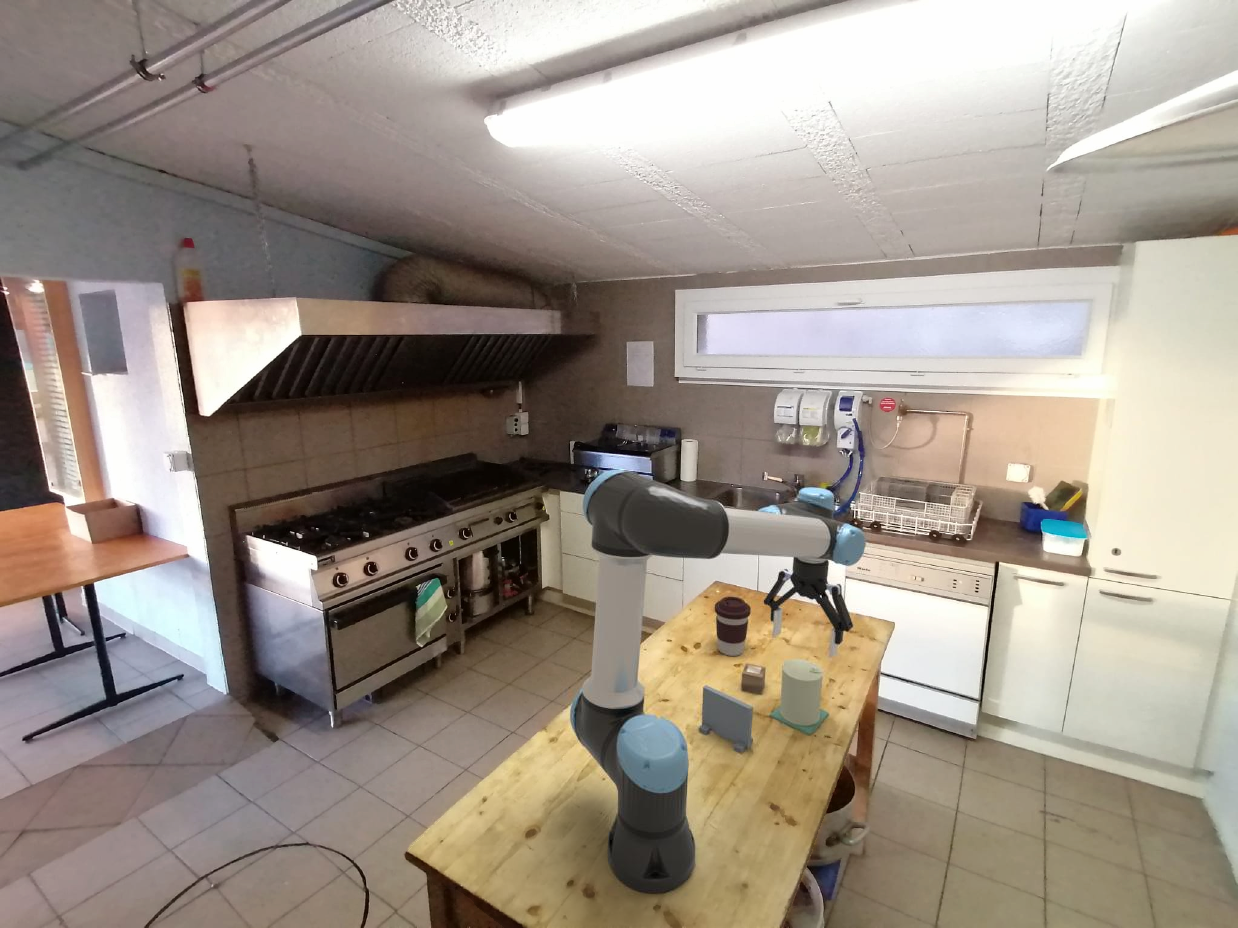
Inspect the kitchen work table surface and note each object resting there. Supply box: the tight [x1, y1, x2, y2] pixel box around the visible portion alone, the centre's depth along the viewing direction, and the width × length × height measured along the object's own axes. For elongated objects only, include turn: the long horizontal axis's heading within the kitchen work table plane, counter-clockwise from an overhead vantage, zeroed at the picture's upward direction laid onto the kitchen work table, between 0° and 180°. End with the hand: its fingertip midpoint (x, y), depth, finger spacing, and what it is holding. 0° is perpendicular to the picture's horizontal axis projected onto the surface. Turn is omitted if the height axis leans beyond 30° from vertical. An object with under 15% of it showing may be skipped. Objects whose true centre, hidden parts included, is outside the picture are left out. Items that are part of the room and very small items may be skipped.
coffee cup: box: [714, 596, 752, 657], centre depth 167 cm, size 10×10×15 cm
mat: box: [769, 705, 830, 737], centre depth 139 cm, size 10×10×1 cm
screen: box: [698, 684, 754, 754], centre depth 131 cm, size 5×12×10 cm, turn 48°
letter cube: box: [740, 662, 766, 696], centre depth 150 cm, size 5×5×5 cm
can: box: [778, 658, 824, 726], centre depth 138 cm, size 9×9×12 cm
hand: (803, 645), depth 135 cm, fingers open, 13 cm apart
